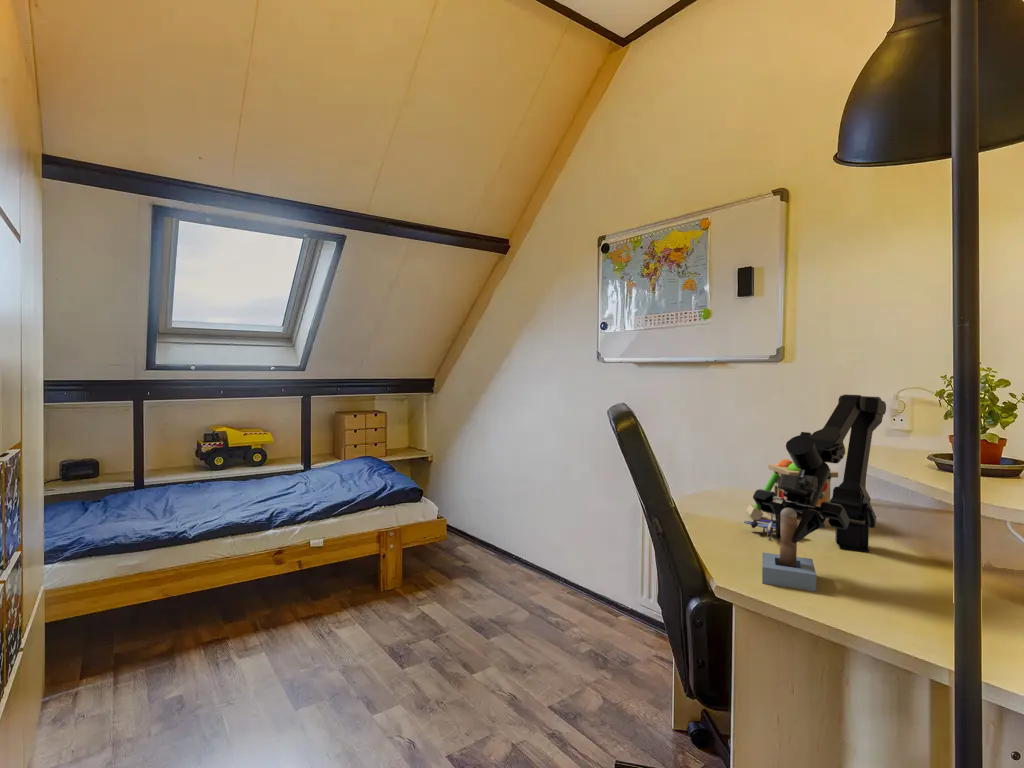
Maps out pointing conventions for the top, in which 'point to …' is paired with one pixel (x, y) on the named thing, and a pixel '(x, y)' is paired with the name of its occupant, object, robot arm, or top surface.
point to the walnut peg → (788, 537)
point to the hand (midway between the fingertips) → (785, 540)
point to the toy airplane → (764, 525)
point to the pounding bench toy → (789, 469)
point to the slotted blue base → (788, 573)
